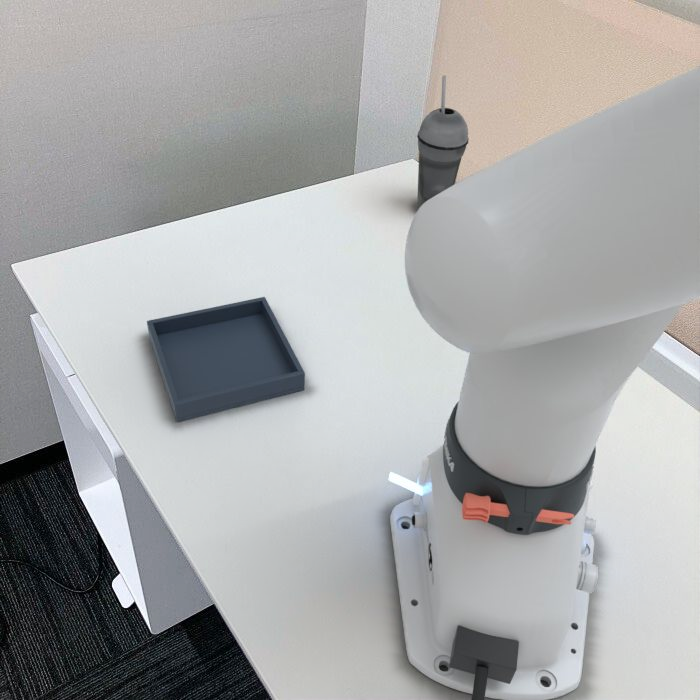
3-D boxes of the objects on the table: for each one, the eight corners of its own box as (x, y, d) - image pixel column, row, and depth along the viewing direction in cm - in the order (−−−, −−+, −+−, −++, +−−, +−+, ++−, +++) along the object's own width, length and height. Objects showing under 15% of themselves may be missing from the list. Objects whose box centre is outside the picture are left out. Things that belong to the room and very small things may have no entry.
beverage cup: (439, 227, 108) (461, 94, 95) (398, 209, 111) (414, 78, 98) (465, 207, 113) (489, 78, 99) (425, 191, 116) (443, 63, 102)
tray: (304, 390, 82) (305, 373, 80) (176, 422, 77) (174, 405, 75) (265, 313, 91) (264, 296, 89) (149, 337, 87) (146, 320, 85)
